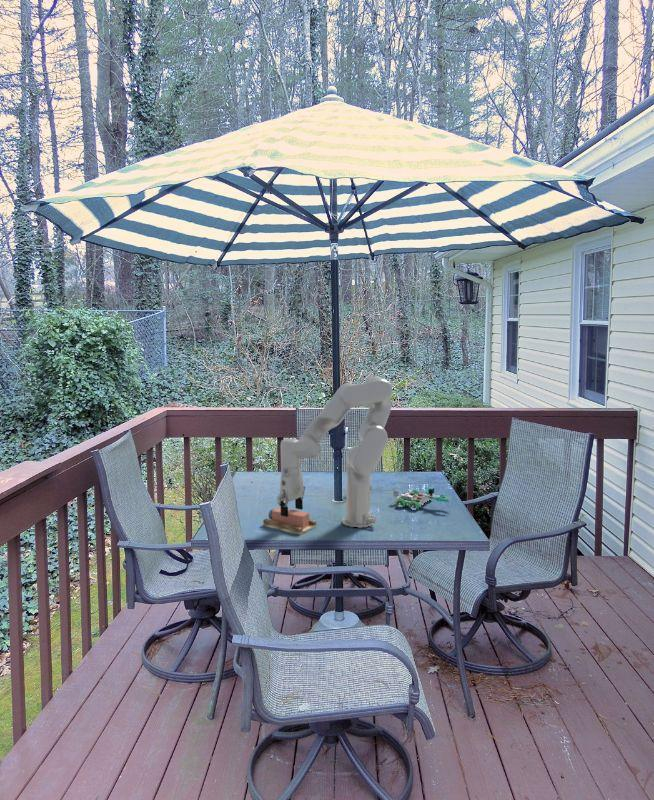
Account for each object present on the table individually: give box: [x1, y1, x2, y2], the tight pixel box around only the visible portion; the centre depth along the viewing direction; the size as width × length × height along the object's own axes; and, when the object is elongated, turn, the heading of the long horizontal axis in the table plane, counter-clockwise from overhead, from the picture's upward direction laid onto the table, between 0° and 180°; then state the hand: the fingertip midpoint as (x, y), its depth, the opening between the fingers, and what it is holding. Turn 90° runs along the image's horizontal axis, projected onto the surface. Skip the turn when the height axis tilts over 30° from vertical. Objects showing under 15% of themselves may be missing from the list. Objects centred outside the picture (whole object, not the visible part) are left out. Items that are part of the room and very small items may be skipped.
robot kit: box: [392, 486, 452, 510], centre depth 265 cm, size 19×25×9 cm
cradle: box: [262, 518, 317, 536], centre depth 237 cm, size 18×11×2 cm, turn 57°
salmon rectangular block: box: [268, 507, 310, 529], centre depth 237 cm, size 16×5×5 cm, turn 64°
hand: (291, 512), depth 236 cm, fingers open, 9 cm apart
